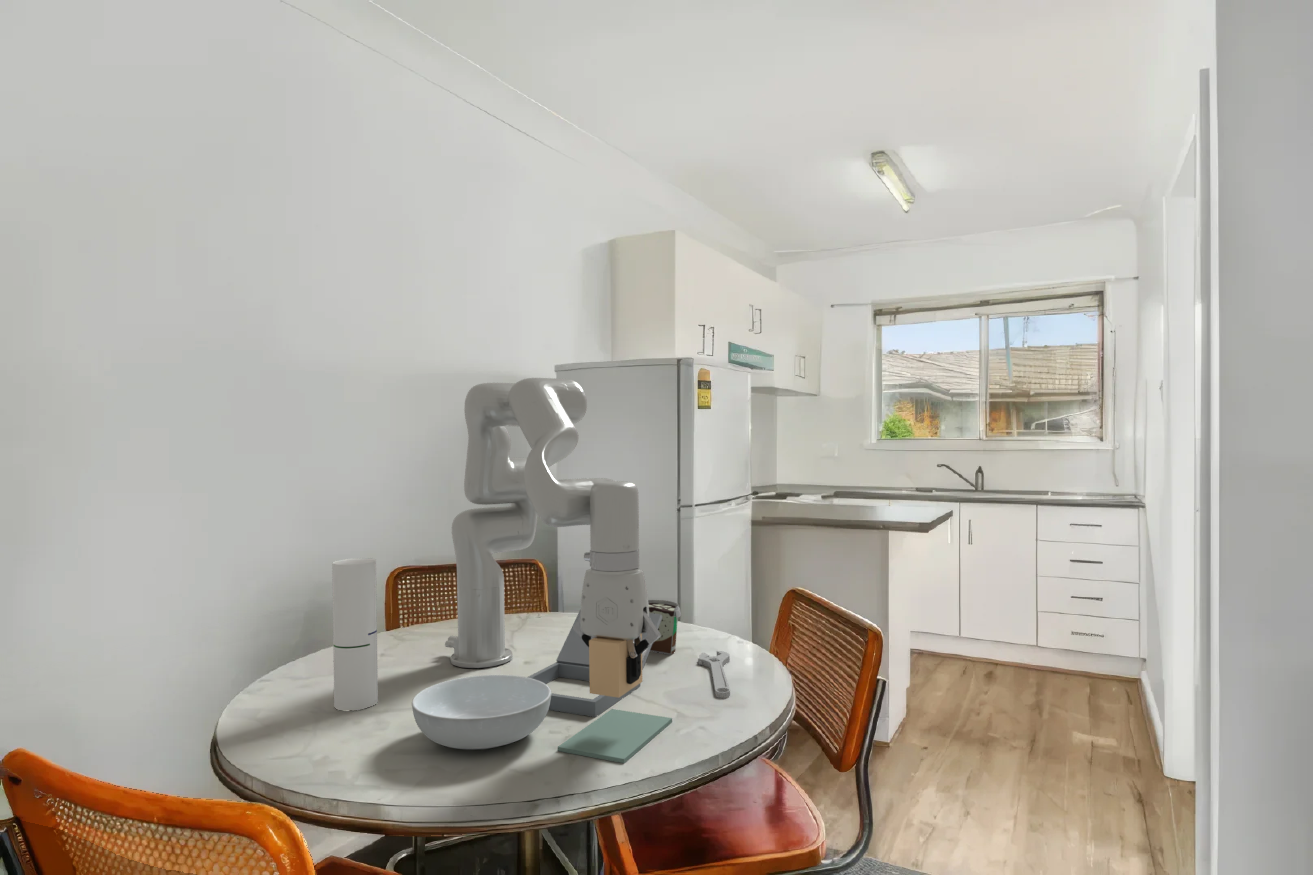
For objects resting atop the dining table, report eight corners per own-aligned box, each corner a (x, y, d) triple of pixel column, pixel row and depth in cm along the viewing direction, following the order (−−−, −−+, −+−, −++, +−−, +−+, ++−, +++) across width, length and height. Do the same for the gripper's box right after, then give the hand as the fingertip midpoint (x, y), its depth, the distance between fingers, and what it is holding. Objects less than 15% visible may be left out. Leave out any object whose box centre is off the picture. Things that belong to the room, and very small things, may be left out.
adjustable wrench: (731, 701, 134) (731, 691, 134) (694, 700, 135) (694, 690, 135) (729, 658, 159) (729, 650, 159) (698, 658, 160) (698, 650, 160)
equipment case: (505, 702, 133) (504, 638, 133) (583, 660, 158) (583, 606, 158) (595, 717, 126) (594, 648, 126) (663, 670, 151) (662, 613, 151)
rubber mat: (557, 750, 112) (557, 746, 112) (611, 712, 128) (611, 708, 128) (624, 763, 108) (624, 758, 108) (672, 721, 123) (672, 717, 123)
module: (589, 693, 115) (589, 640, 115) (614, 677, 123) (613, 627, 123) (619, 697, 113) (618, 643, 113) (642, 681, 121) (641, 630, 121)
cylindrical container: (386, 699, 136) (384, 558, 136) (358, 713, 129) (356, 565, 129) (353, 695, 138) (352, 557, 138) (324, 708, 132) (322, 563, 132)
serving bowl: (562, 756, 111) (561, 708, 111) (410, 776, 105) (410, 726, 105) (541, 707, 131) (541, 667, 131) (413, 722, 125) (413, 680, 125)
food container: (692, 648, 166) (691, 602, 166) (677, 655, 161) (676, 608, 161) (644, 641, 172) (644, 597, 172) (629, 647, 167) (628, 602, 167)
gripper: (554, 562, 118) (556, 679, 118) (654, 568, 111) (656, 693, 111) (579, 555, 125) (581, 666, 125) (675, 560, 118) (676, 678, 118)
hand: (616, 677), depth 118 cm, fingers closed on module, 5 cm apart
